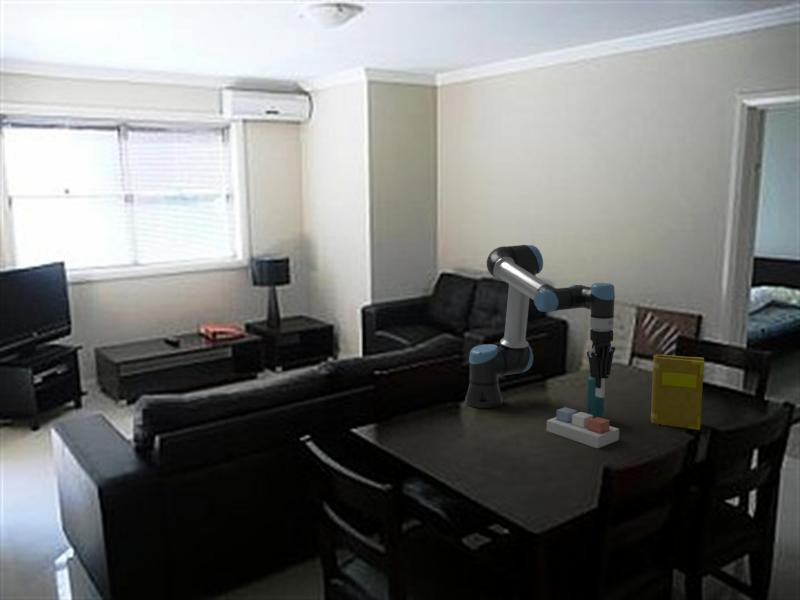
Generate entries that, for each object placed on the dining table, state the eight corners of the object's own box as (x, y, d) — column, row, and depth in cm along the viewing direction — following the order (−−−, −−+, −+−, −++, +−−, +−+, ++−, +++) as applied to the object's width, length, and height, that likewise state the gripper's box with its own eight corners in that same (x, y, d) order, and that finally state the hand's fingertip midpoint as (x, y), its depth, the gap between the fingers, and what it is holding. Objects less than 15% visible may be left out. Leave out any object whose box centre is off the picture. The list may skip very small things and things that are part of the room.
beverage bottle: (604, 421, 258) (605, 369, 254) (585, 420, 259) (587, 369, 256) (602, 415, 264) (604, 365, 261) (584, 415, 265) (586, 364, 262)
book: (700, 423, 253) (704, 357, 249) (699, 429, 247) (703, 362, 243) (651, 418, 260) (654, 353, 256) (649, 423, 254) (652, 358, 250)
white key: (571, 428, 244) (572, 414, 244) (580, 425, 247) (581, 411, 247) (583, 432, 240) (583, 418, 240) (592, 428, 244) (592, 415, 243)
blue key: (556, 423, 250) (556, 410, 249) (565, 420, 253) (565, 407, 252) (567, 426, 246) (567, 413, 245) (576, 423, 249) (576, 410, 248)
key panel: (546, 430, 249) (546, 420, 249) (567, 423, 257) (568, 413, 256) (597, 448, 232) (597, 437, 231) (618, 439, 239) (619, 428, 239)
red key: (588, 433, 239) (588, 419, 238) (597, 430, 242) (597, 416, 241) (600, 437, 235) (600, 423, 234) (609, 434, 238) (609, 420, 237)
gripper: (599, 333, 225) (597, 403, 229) (622, 328, 233) (620, 395, 237) (580, 330, 231) (579, 397, 235) (604, 324, 239) (602, 390, 243)
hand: (600, 396), depth 236 cm, fingers closed
